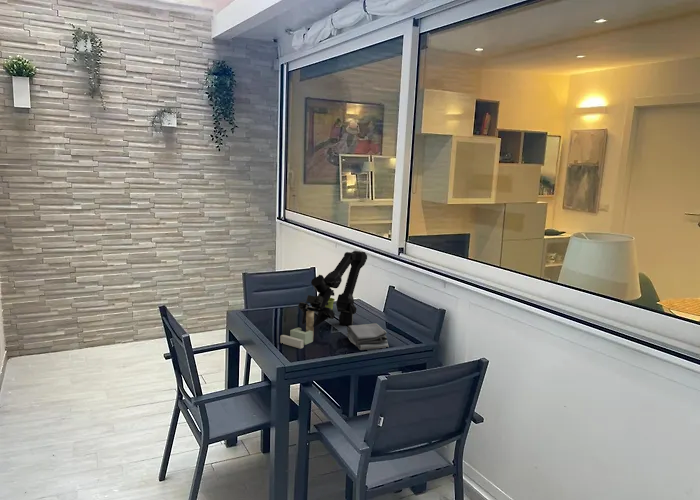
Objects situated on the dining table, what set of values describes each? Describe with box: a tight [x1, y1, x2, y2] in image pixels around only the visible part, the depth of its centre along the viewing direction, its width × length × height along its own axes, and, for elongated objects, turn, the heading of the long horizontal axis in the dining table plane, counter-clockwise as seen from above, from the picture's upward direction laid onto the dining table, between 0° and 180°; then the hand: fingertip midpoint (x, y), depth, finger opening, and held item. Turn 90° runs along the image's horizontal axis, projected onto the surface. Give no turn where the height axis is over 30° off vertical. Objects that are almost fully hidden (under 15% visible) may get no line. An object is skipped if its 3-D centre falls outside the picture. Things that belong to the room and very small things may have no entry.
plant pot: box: [325, 297, 336, 310], centre depth 277 cm, size 9×9×9 cm
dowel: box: [305, 311, 315, 339], centre depth 236 cm, size 4×4×13 cm
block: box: [289, 327, 314, 346], centre depth 232 cm, size 6×9×5 cm, turn 55°
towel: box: [346, 322, 389, 351], centre depth 233 cm, size 15×18×8 cm
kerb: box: [279, 334, 305, 350], centre depth 227 cm, size 2×12×4 cm, turn 55°
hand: (308, 325), depth 235 cm, fingers open, 6 cm apart
